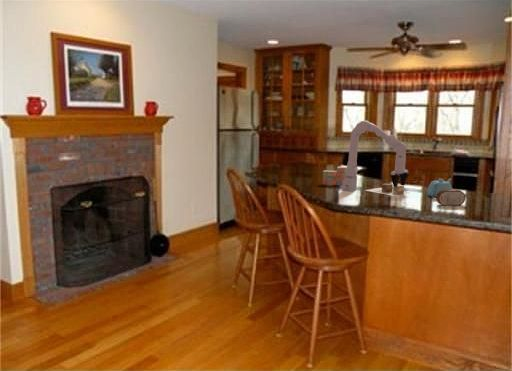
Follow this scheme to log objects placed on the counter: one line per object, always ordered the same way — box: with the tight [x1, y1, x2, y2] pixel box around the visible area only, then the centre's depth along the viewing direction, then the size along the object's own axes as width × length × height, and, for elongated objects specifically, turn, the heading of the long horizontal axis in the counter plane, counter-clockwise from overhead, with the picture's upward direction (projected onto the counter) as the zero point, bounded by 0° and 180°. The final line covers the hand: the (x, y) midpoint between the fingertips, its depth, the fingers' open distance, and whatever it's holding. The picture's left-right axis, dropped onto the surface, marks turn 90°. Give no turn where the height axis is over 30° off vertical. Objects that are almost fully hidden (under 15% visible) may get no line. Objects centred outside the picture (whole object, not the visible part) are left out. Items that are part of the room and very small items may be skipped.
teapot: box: [427, 178, 453, 198], centre depth 257 cm, size 13×11×18 cm
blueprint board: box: [364, 187, 410, 197], centre depth 269 cm, size 22×16×1 cm
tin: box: [435, 189, 467, 207], centre depth 235 cm, size 15×3×8 cm, turn 92°
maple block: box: [392, 184, 405, 196], centre depth 263 cm, size 4×4×4 cm
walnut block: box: [381, 183, 393, 192], centre depth 269 cm, size 4×4×4 cm
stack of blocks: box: [322, 166, 347, 187], centre depth 293 cm, size 21×6×12 cm, turn 74°
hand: (398, 185), depth 263 cm, fingers open, 7 cm apart
